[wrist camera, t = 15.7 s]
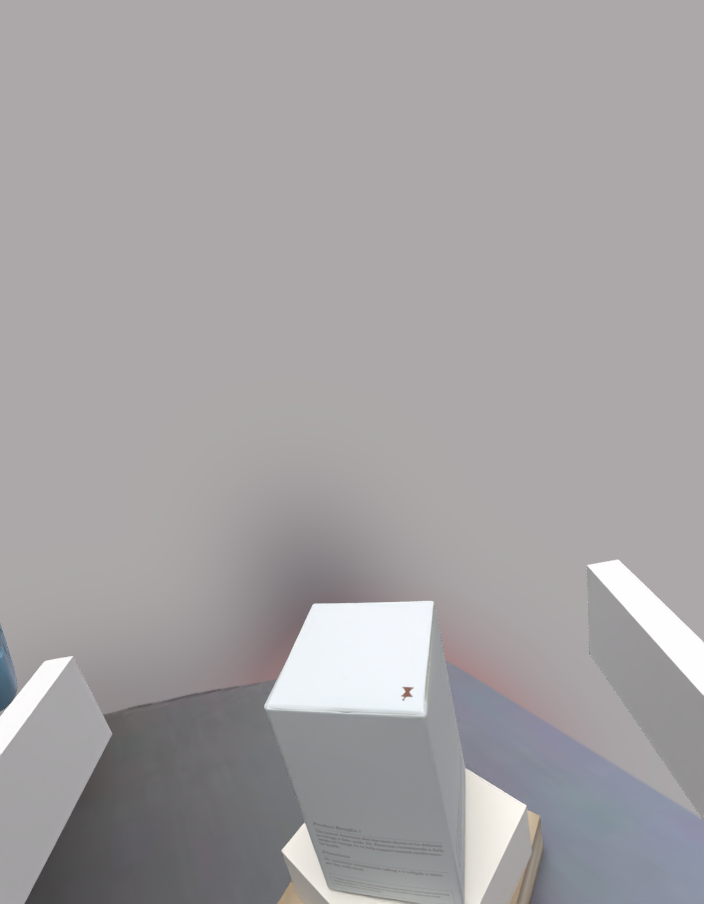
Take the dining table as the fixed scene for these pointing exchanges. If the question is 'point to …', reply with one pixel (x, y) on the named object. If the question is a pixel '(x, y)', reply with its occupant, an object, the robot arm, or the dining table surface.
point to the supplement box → (375, 750)
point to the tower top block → (486, 852)
